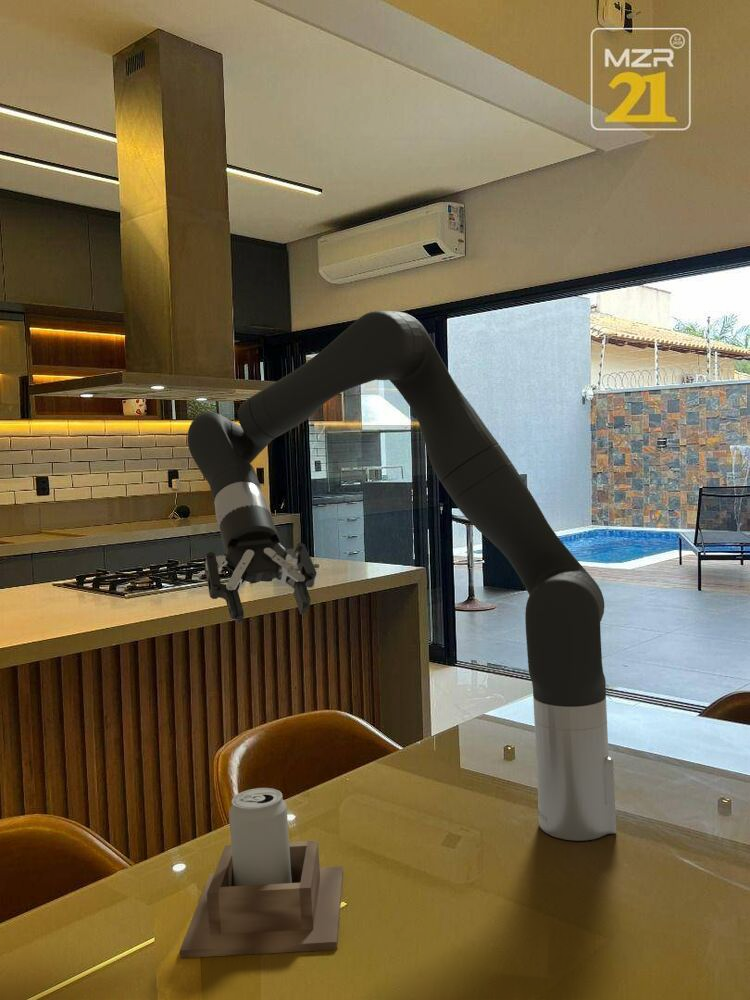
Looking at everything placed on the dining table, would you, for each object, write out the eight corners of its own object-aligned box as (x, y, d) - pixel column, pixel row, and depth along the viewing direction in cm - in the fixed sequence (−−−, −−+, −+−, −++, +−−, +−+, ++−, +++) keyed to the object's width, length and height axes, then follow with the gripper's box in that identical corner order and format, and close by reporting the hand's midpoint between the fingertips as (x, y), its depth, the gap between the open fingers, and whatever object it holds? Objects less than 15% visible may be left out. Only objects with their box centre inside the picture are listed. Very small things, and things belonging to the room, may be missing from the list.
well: (343, 872, 104) (340, 829, 104) (337, 949, 88) (333, 899, 88) (210, 879, 104) (207, 837, 104) (180, 957, 88) (176, 907, 88)
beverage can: (283, 918, 93) (275, 809, 93) (226, 914, 95) (219, 807, 94) (299, 887, 100) (293, 786, 99) (246, 885, 101) (239, 784, 100)
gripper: (196, 508, 117) (221, 604, 107) (298, 499, 122) (330, 590, 112) (192, 544, 122) (215, 639, 112) (290, 534, 127) (320, 624, 117)
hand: (273, 614), depth 112 cm, fingers open, 8 cm apart
